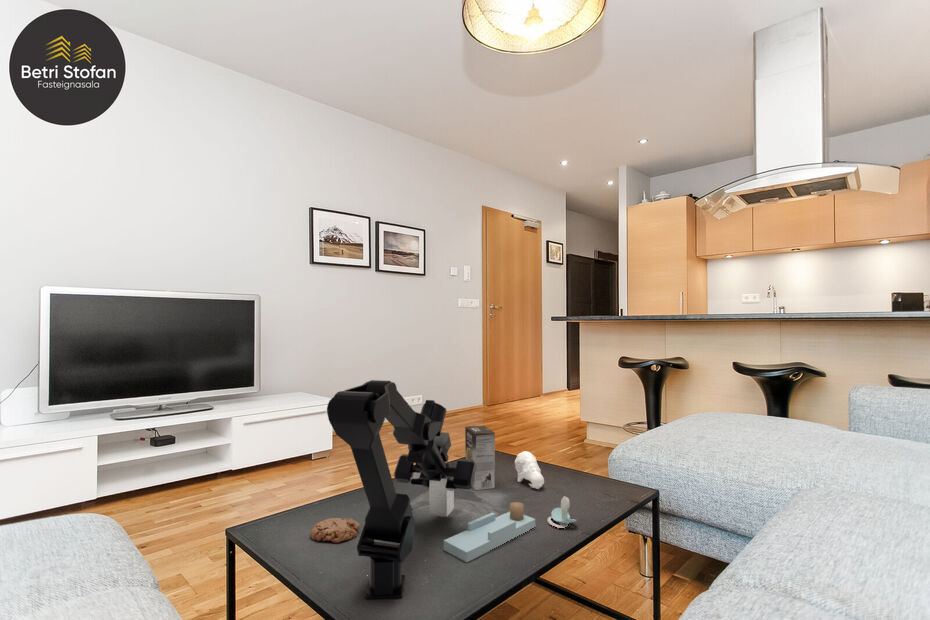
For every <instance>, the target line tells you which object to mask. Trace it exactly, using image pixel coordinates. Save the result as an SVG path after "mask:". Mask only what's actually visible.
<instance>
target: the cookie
mask: <svg viewBox="0 0 930 620" xmlns="http://www.w3.org/2000/svg"><path fill="white" fill-rule="evenodd" d="M360 528H361V527H360V523H359V522H357V521H356V520H354V519H353V518H351V517H350V518H340V517H334V518H327V519H324V520H322V521H319V522H317V523H316V524H314V526H313V527H312V528H311V531H310V538H311V540H313V541H314V540H315V541H318V542H319V541H320V542H327V541H328V542H329V541H331V543H336V544H337V543H340V542H345V541H347V540H351V539H355V537H357V536H358V534H359V532H360Z"/></svg>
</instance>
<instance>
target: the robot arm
mask: <svg viewBox="0 0 930 620" xmlns="http://www.w3.org/2000/svg"><path fill="white" fill-rule="evenodd" d="M424 402H425V403H424V404H423V405H422V407H421V410H420V412H416V411H415V410H414V409H413V408H412V406H411V405H410V404H409V403H408V402H407V401H406V399H405V398H404V397H403V396H402V394H401V393H400V391H399V390H398V389H397V385H396V383H395V382H393V381H391V380H380V379H379V380H377V379H376V380H375V379H371V380H369V381H366V382H364V383H363V384H360V385H357V386H355V387H351V388H346V389H344V390H340V391H337V392H336V393H335V394H334V395H333V397H331V399H330V400H329V401H328V403H327V406H326V414H327V418H328V419H327V420H328V421H329V423H330V426H331V427H332V430H333V432H334V433H335V435H336V436H337V437H339V438H340V439H341V440H343V441H344V442H345V443H346V444H347V445H349V447H350V449H351V452H352V455H353V459H354V462H355V465H356V468H357V472H358V475H359V478H360V481H361V483H362V484H361V485H362V488H363V490H364V492H365V496H366V499H367V503H368V505H369V509H368V511H367V513H366V515H365V517H364V525H363V528H362V532H361V534H360V537H359V540H358V543H357V545H356V549H357V554H358V557H367V558H369V559H368V561H369V564H368V565H369V570H368V571H369V577H368V579H369V580H368V582H367V586H366V590H365V591H364V592H365V593H364V599H366V600H368V599H374V600H375V599H397V598H398V599H399V598H402V597H403V596H404V595H403V594H404V588H405V583H406V582H405V581H406V575H405V574H402V573H403V569H402V567H403V565H402V563H403V562H404V560H406V558H407V557H408V556H409V555H410V553H411V552H412V551H413V543H414V536H415V529H416V528H415V527H416V520H415V517H414V515H413V511H414V508H413V507H412V504H411V499H410V497H409V496H408V494H406V493H397V492H396V489H395V488H396V487H395V485H394V481H393V477H392V474H391V470H390V467H389V464H388V460H387V457H386V454H385V449H384V447H383V443H382V440H381V439H382V438H381V436H380V431H381V429H382V426H383V425H384V422H385V421H386V420H387V422H388V423H389V424H390V425H391V426H393V432H392V435H393V436H394V438H395V440H396V442H397V443H398V444H400V445H408V446H407V449H408V452H407V454H405V453H402V454H401V455H400V456H398V457H399V458H398V460H397V463H396V466H395V469H394V472H393V476H394V478H395V480H396V482H397V483H404V484H409V483H410V484H411V485H415V486H419V487H424V488H427V489H429V480H432V481H441V479H446V478H447V482H446V486H445V488H447V489H448V490H450V491H453V490H457V489H460V490H467V491H468V490H471V489H473V482H474V477H475V472H476V464H475V462H474V461H473V460H466V459H461V458H459V459H458V460H457V462H456V461H451V462H449V458H450V457H449V454H448V452H449V450H450V448H451V447H452V441H451V437H450V433H449V432H443V431H442V430H443V426H444V422H445V418H446V414H447V413H448V412H447V408H446V407H444V406H443V405H442V404H440V403H437V402H435V400H434V399H426V400H425V401H424ZM448 462H449V463H448ZM380 541H381V542H380ZM387 542H389V543H387Z"/></svg>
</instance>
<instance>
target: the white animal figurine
mask: <svg viewBox="0 0 930 620" xmlns="http://www.w3.org/2000/svg"><path fill="white" fill-rule="evenodd" d="M514 467H515V470H516V471H517V472H516V473H517V482H518V483H521V482H522V481H523V480H524V479H525V480H527V481H529V482H530V483H529V486H530V489H536V490H537V489H538V490H539V489H540V488H542V487H543V485H544V483H545V478H544V476H543V474H542V473H541V471H542V470H541V468H540V467H539V464H538V462H537V457H536V456H535V455H534V454H533V453H531V452H530V451H526V450H525V451H524V450H523V451H522V452H520V453H518V454H517V456H516V458H515V460H514Z"/></svg>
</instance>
